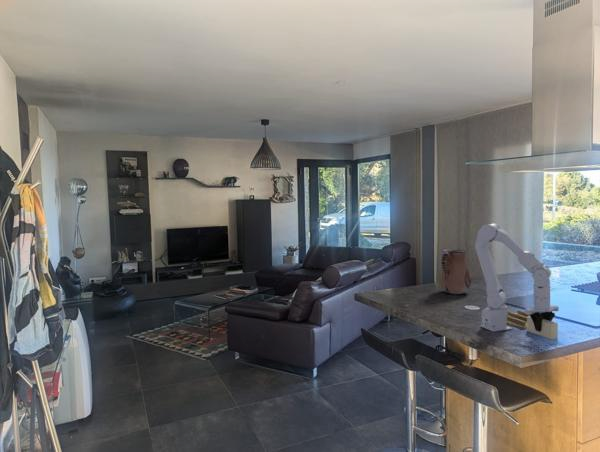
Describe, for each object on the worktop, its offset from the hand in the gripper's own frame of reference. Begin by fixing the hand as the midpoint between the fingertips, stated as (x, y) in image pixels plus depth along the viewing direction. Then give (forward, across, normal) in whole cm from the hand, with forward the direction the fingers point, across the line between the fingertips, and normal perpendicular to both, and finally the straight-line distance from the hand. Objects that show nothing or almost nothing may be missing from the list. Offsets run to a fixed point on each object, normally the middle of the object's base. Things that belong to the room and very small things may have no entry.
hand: (541, 330), depth 168 cm
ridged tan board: (+2, +6, +17) cm, 18 cm away
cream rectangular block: (+2, 0, 0) cm, 2 cm away
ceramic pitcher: (+2, +13, +76) cm, 77 cm away
